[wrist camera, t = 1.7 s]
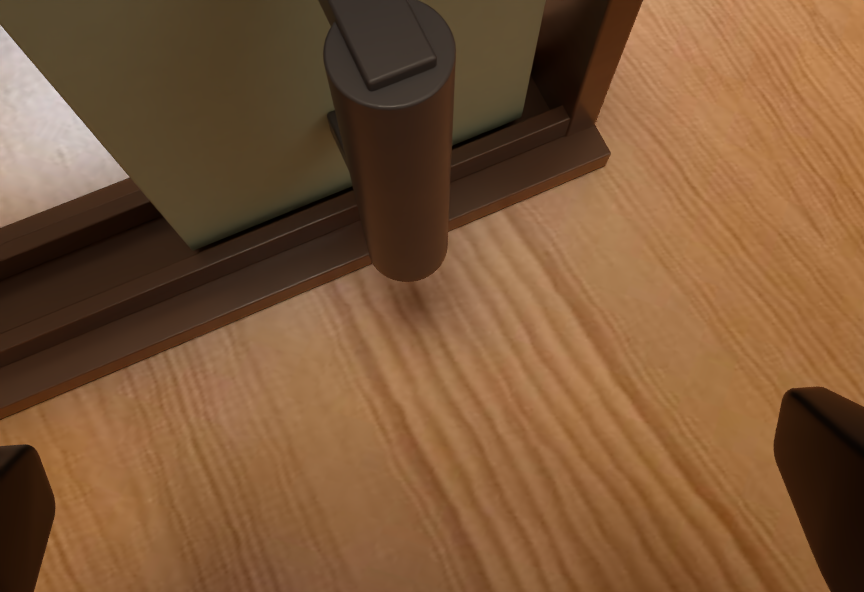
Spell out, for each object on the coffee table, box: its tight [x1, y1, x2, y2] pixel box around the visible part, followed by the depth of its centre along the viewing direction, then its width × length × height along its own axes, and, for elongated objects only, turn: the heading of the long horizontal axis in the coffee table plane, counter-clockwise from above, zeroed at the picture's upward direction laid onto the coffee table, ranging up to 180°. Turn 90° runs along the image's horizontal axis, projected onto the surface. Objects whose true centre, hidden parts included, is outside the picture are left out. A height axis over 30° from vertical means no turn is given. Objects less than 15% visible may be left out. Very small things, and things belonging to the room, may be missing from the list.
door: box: [0, 0, 546, 282], centre depth 16 cm, size 6×10×12 cm, turn 114°
